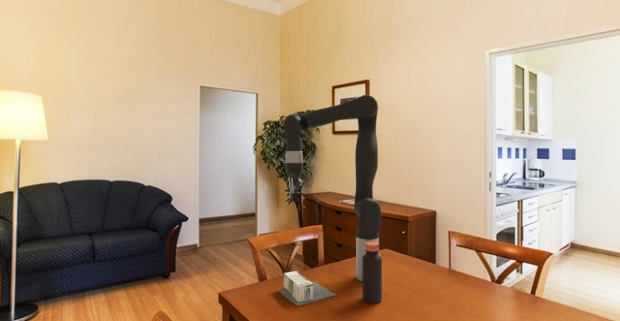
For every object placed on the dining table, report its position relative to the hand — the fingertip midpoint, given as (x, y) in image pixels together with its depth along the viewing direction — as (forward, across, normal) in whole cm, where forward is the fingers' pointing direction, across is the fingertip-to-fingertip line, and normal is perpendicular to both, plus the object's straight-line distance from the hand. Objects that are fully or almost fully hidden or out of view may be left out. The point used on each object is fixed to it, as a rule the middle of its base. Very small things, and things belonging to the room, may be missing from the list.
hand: (294, 201), depth 145 cm
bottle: (+31, -38, -10) cm, 50 cm away
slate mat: (+31, -22, +7) cm, 38 cm away
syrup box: (+28, -13, +10) cm, 32 cm away
